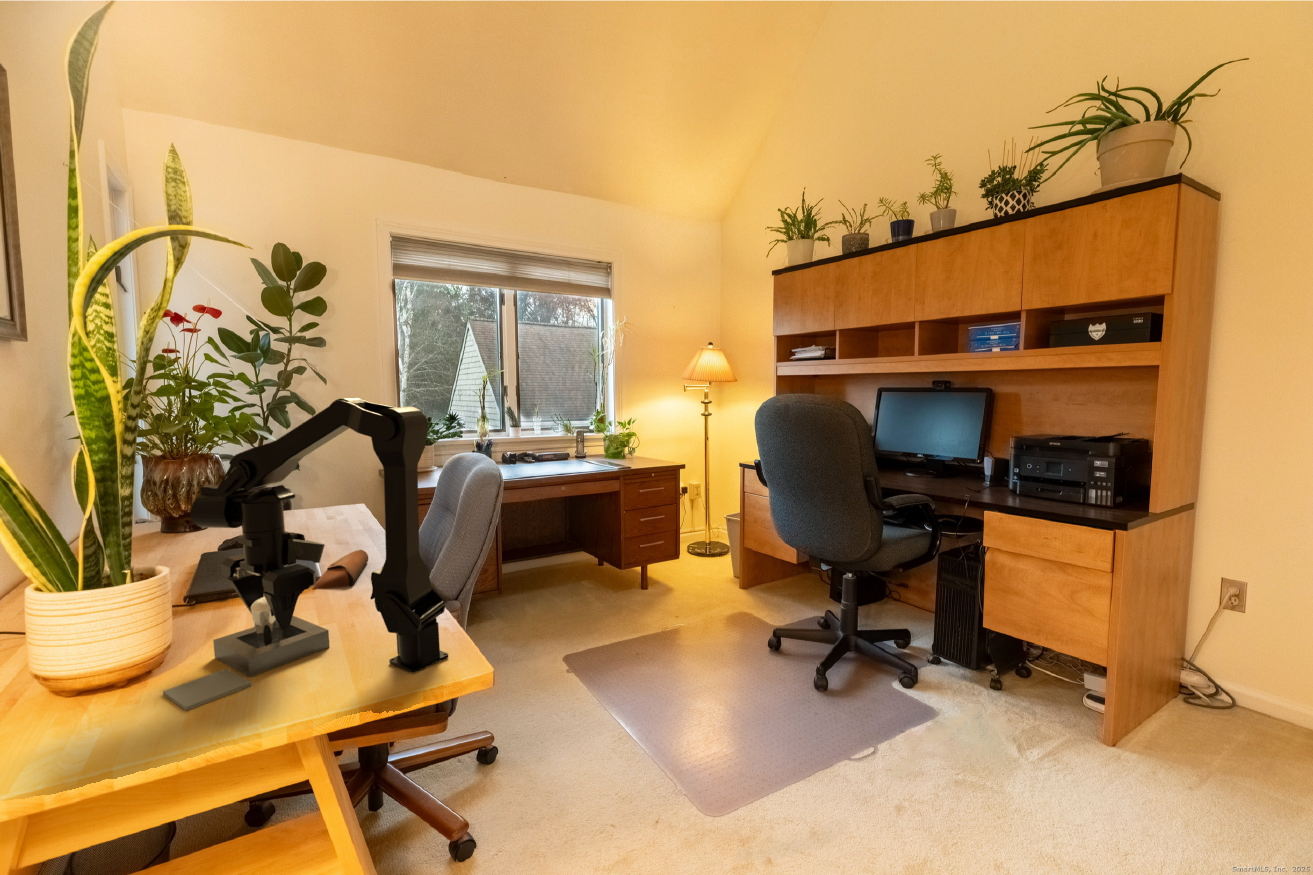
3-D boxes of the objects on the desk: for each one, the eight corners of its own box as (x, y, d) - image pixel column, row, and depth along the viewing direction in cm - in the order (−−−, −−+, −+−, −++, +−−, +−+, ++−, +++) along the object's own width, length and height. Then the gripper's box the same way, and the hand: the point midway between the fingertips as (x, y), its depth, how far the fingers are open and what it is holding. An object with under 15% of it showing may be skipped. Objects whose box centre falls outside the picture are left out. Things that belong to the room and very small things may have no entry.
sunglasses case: (330, 565, 146) (344, 540, 147) (358, 577, 148) (372, 552, 149) (310, 590, 129) (326, 562, 129) (343, 603, 131) (359, 575, 132)
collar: (329, 647, 101) (328, 629, 101) (249, 677, 91) (247, 658, 91) (293, 631, 108) (291, 615, 108) (214, 657, 98) (213, 639, 98)
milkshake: (275, 660, 97) (271, 599, 96) (247, 657, 98) (242, 596, 97) (298, 647, 101) (293, 589, 100) (270, 645, 102) (266, 587, 101)
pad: (251, 685, 89) (251, 682, 89) (185, 710, 82) (185, 707, 82) (227, 671, 93) (226, 668, 93) (163, 694, 87) (162, 690, 87)
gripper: (345, 524, 99) (351, 617, 101) (287, 512, 109) (294, 596, 111) (271, 540, 90) (279, 642, 91) (216, 525, 100) (224, 617, 102)
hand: (271, 622), depth 99 cm, fingers open, 9 cm apart
